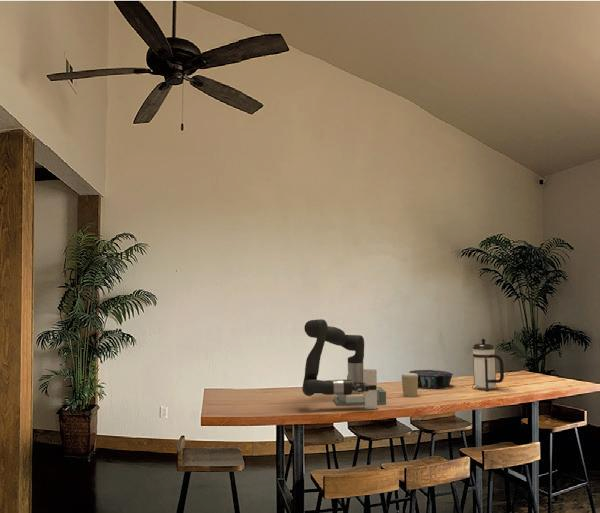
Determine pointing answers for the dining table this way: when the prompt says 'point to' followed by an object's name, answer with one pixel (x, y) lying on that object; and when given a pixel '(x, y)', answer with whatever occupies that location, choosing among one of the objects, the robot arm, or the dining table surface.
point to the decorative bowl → (433, 378)
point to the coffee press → (485, 366)
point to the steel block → (371, 395)
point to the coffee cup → (410, 384)
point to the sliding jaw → (341, 398)
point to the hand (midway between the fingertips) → (375, 386)
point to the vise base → (359, 400)
